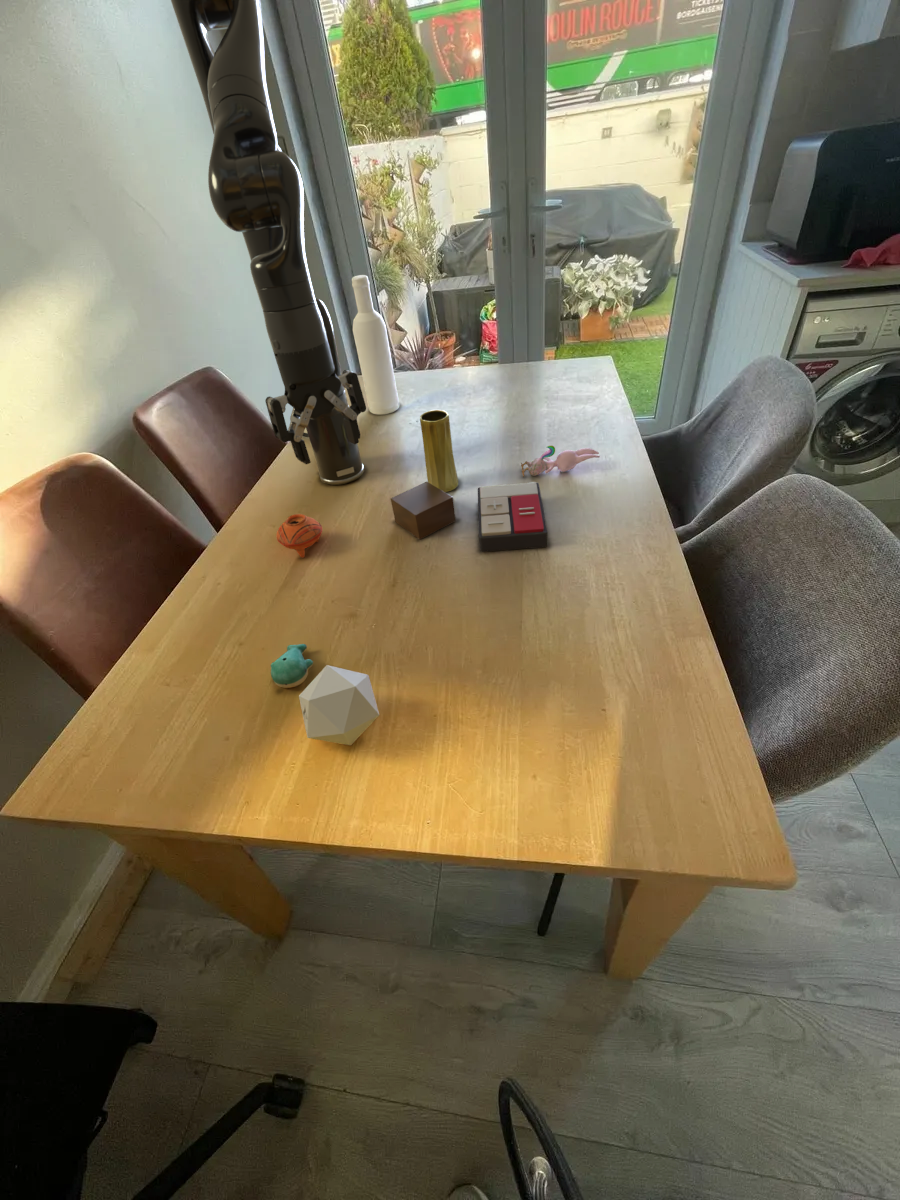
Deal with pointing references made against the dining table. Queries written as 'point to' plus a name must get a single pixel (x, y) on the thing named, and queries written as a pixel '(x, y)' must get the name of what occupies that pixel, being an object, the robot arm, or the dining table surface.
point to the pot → (299, 533)
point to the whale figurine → (291, 667)
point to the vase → (438, 450)
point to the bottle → (373, 351)
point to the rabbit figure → (558, 460)
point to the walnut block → (423, 509)
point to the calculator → (511, 517)
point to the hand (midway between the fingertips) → (330, 452)
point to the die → (338, 705)
